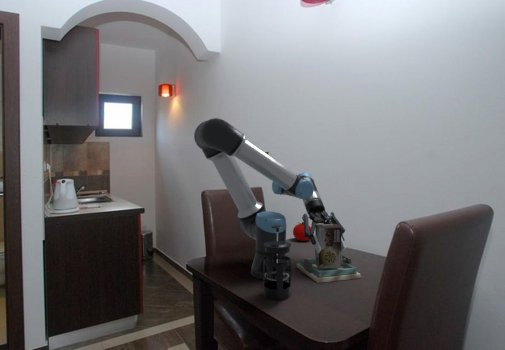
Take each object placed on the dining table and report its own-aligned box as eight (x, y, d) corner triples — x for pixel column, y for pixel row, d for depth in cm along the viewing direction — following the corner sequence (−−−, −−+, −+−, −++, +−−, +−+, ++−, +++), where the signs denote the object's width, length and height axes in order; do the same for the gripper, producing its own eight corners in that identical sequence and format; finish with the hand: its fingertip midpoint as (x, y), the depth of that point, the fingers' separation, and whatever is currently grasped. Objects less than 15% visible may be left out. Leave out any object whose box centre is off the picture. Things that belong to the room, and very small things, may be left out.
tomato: (305, 244, 181) (305, 225, 181) (288, 240, 188) (289, 222, 188) (316, 240, 189) (316, 222, 188) (300, 237, 196) (300, 219, 196)
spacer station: (317, 282, 126) (317, 268, 126) (296, 267, 144) (297, 254, 143) (360, 278, 132) (361, 263, 131) (335, 263, 149) (335, 251, 149)
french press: (260, 288, 121) (261, 222, 119) (287, 287, 122) (288, 222, 120) (265, 303, 109) (265, 230, 108) (294, 302, 110) (295, 229, 109)
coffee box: (336, 263, 141) (337, 223, 140) (341, 268, 135) (342, 227, 134) (314, 263, 141) (315, 223, 140) (317, 268, 134) (318, 227, 133)
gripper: (333, 208, 154) (353, 253, 140) (286, 210, 148) (301, 257, 134) (340, 197, 149) (361, 243, 135) (291, 199, 142) (308, 247, 128)
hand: (331, 250), depth 134 cm, fingers closed on coffee box, 10 cm apart
